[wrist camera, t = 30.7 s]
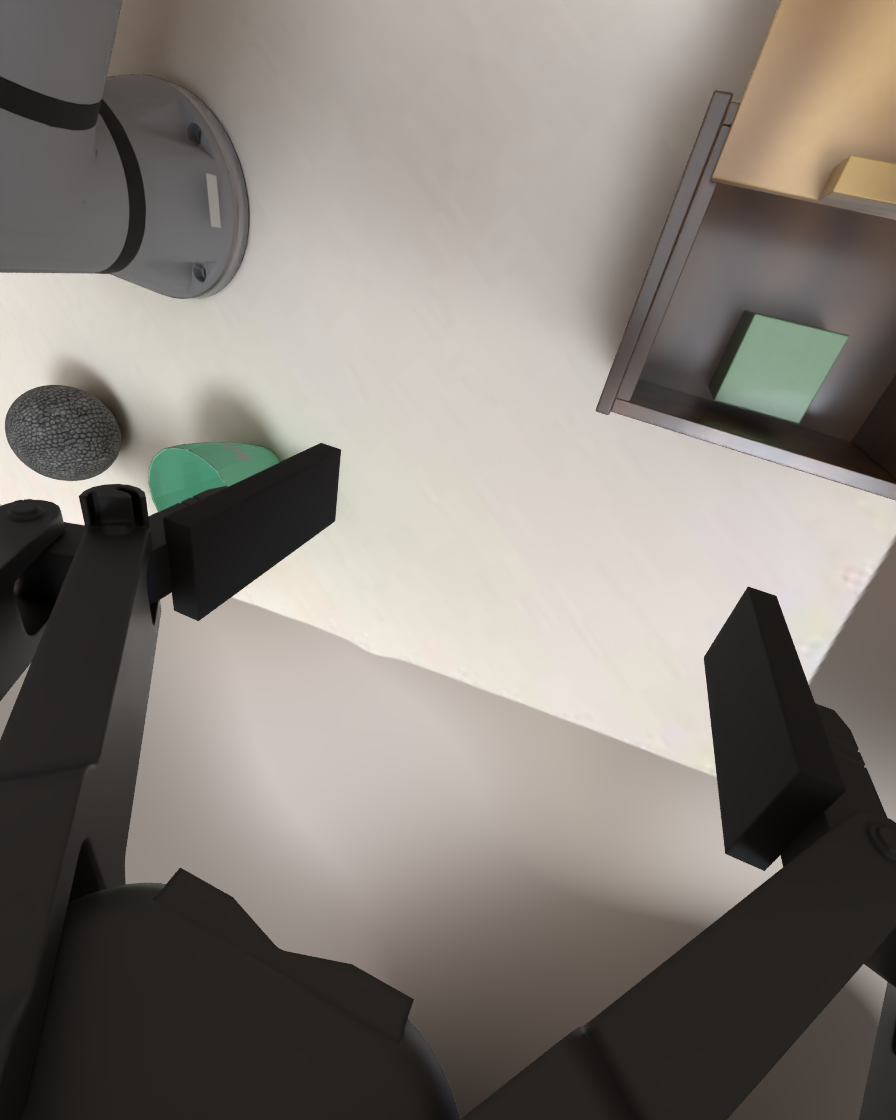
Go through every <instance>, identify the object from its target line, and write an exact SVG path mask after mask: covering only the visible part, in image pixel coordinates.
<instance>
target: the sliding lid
mask: <svg viewBox="0 0 896 1120" xmlns="http://www.w3.org/2000/svg"><path fill="white" fill-rule="evenodd" d="M710 180H711V181H714V182H718V183H723V184H728V185H733V186H737V187H742V188H747V189H752V190H756V191H761V192H766V193H771V194H775V195H780V196H785V197H790V198H794V199H799V200H804V201H808V202H813V203H818V204H823V205H827V206H832V207H837V208H842V209H846V210H851V211H856V212H861V213H865V214H870V215H875V216H880V217H884V218H889V219H894V220H896V0H781V1H780V4H779V6H778V9H777V11H776V14H775V16H774V19H773V21H772V24H771V26H770V29H769V31H768V34H767V37H766V39H765V42H764V44H763V47H762V49H761V52H760V54H759V57H758V59H757V62H756V64H755V67H754V69H753V72H752V74H751V77H750V79H749V82H748V85H747V87H746V90H745V92H744V95H743V97H742V100H741V102H740V105H739V107H738V110H737V112H736V115H735V117H734V120H733V122H732V125H731V128H730V130H729V133H728V135H727V138H726V140H725V143H724V145H723V148H722V150H721V153H720V155H719V158H718V160H717V163H716V165H715V168H714V170H713V173H712V176H711V178H710Z"/></svg>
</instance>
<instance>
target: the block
mask: <svg viewBox="0 0 896 1120" xmlns="http://www.w3.org/2000/svg"><path fill="white" fill-rule="evenodd" d="M848 339H849V336H848V335H845V334H841V333H838V332H834V331H830V330H826V329H822V328H818V327H814V326H810V325H805V324H801V323H797V322H793V321H789V320H785V319H781V318H776V317H772V316H768V315H764V314H760V313H756V312H752V311H747V310H745V311H744V312H743V314H742V316H741V319H740V321H739V323H738V325H737V327H736V329H735V331H734V334H733V336H732V338H731V340H730V342H729V344H728V347H727V349H726V351H725V353H724V355H723V357H722V360H721V362H720V364H719V366H718V368H717V370H716V372H715V375H714V377H713V379H712V381H711V383H710V385H709V389H710V392H711V394H712V397H713V399H714V401H717V402H720V403H724V404H728V405H731V406H735V407H738V408H742V409H745V410H749V411H752V412H756V413H760V414H763V415H767V416H770V417H774V418H777V419H781V420H785V421H788V422H792V423H795V424H799V423H800V422H801V420H802V418H803V417H804V415H805V413H806V411H807V410H808V408H809V406H810V404H811V403H812V401H813V399H814V397H815V396H816V394H817V392H818V391H819V389H820V387H821V385H822V384H823V382H824V380H825V378H826V377H827V375H828V373H829V371H830V370H831V368H832V366H833V365H834V363H835V361H836V359H837V358H838V356H839V354H840V352H841V351H842V349H843V347H844V345H845V344H846V342H847V340H848Z"/></svg>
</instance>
